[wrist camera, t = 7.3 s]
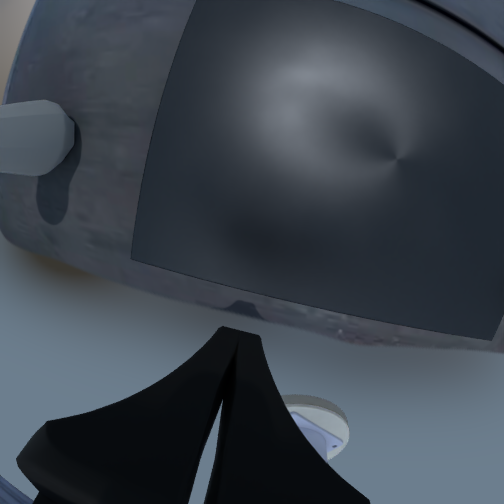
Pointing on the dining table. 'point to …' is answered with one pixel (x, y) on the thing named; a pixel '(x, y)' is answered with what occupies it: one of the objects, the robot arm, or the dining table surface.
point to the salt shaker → (34, 137)
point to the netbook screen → (329, 166)
